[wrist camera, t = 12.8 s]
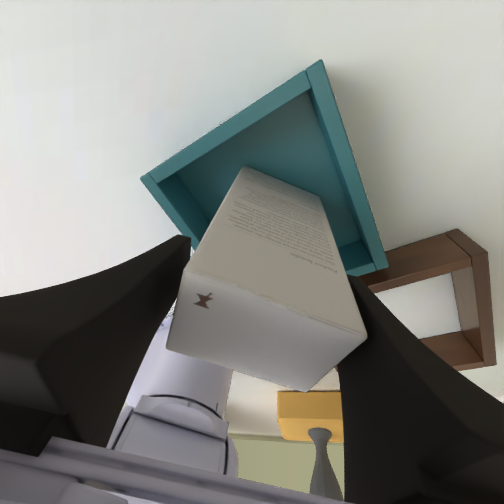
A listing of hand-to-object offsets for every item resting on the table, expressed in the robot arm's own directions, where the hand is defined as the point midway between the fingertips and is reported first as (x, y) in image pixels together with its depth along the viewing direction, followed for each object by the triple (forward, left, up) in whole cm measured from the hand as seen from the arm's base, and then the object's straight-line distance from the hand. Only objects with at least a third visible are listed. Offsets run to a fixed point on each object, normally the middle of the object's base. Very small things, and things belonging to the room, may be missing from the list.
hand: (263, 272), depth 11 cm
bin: (0, 0, -9) cm, 9 cm away
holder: (+5, -14, -9) cm, 17 cm away
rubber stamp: (-7, -29, -9) cm, 31 cm away
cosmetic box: (0, 0, -8) cm, 8 cm away
